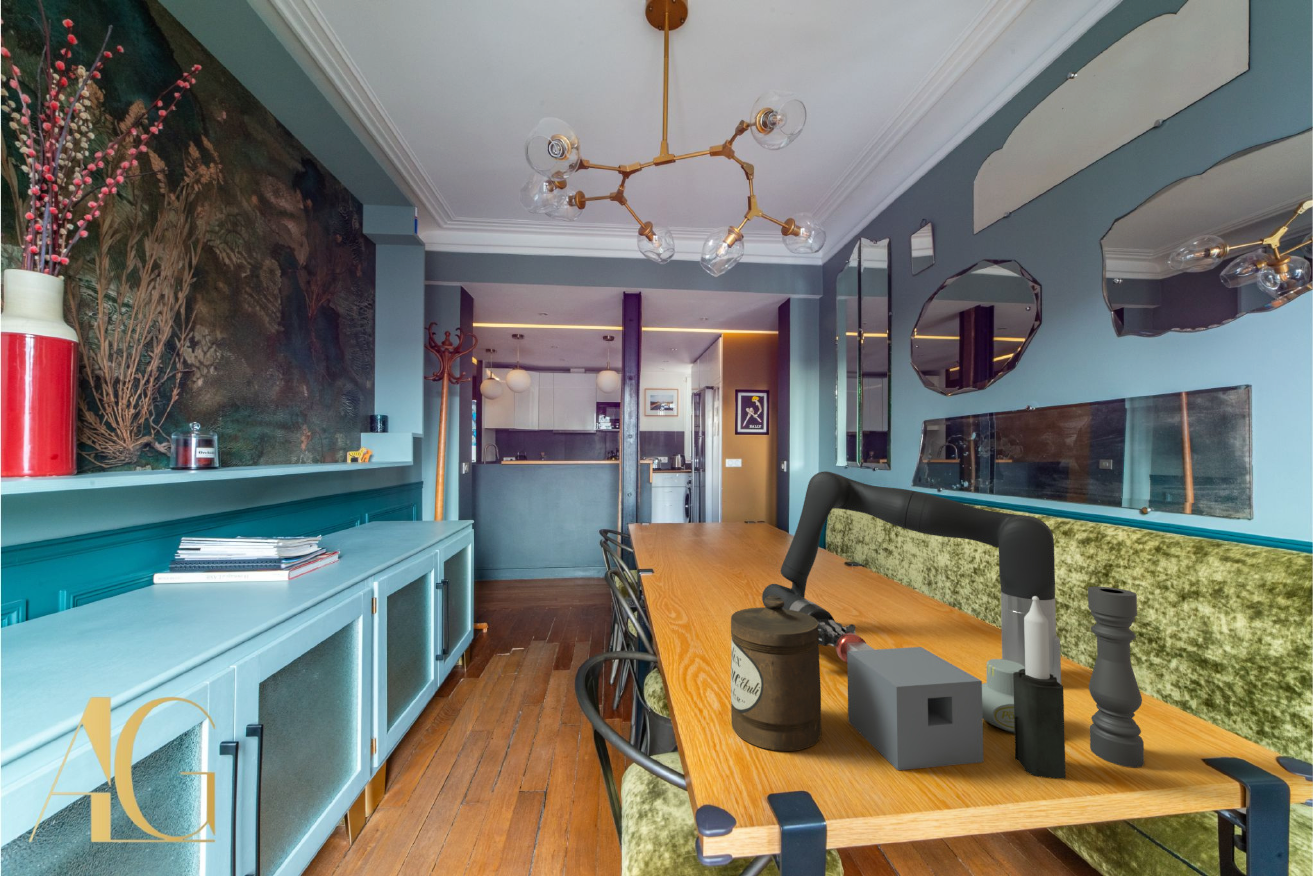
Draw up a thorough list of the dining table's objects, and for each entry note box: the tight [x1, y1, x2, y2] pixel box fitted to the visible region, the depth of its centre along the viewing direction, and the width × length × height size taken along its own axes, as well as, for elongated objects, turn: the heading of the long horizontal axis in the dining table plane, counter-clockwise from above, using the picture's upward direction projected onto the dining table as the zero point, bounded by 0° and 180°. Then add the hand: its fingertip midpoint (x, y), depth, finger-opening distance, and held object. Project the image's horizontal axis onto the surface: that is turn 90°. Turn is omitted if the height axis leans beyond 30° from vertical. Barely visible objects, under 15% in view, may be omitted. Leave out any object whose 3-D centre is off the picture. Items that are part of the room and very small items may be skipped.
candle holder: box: [1087, 586, 1145, 768], centre depth 80 cm, size 6×6×25 cm
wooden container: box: [730, 595, 822, 752], centre depth 88 cm, size 15×15×22 cm
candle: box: [1013, 596, 1066, 779], centre depth 77 cm, size 5×5×25 cm
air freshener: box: [982, 658, 1025, 734], centre depth 89 cm, size 11×8×10 cm
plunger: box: [835, 633, 876, 665], centre depth 92 cm, size 20×6×6 cm, turn 9°
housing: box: [847, 646, 984, 771], centre depth 83 cm, size 14×14×12 cm
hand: (849, 647), depth 102 cm, fingers closed
